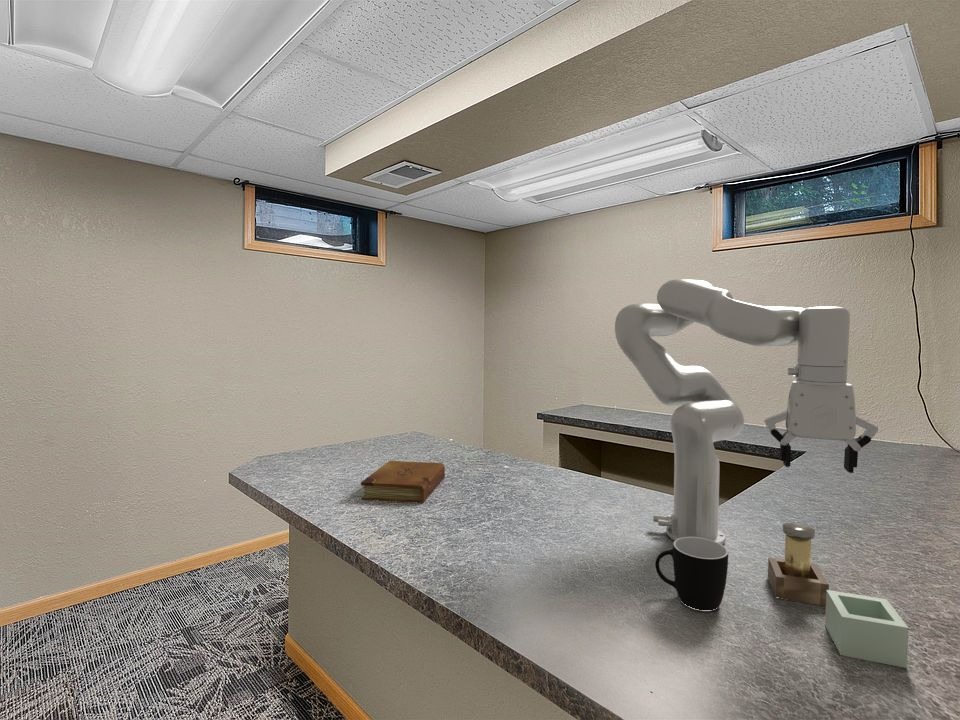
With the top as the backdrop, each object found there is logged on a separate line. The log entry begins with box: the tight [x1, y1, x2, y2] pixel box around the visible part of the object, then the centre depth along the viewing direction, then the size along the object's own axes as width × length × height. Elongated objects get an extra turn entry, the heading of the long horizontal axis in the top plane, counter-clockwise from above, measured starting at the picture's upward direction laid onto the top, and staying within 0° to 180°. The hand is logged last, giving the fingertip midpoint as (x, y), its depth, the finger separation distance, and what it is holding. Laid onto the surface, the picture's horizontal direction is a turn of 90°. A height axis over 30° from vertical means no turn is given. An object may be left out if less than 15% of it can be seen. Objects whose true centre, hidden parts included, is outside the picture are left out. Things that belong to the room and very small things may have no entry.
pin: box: [782, 522, 816, 579], centre depth 92 cm, size 5×5×12 cm
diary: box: [360, 460, 446, 504], centre depth 153 cm, size 23×19×6 cm
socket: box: [824, 589, 910, 669], centre depth 77 cm, size 8×8×6 cm
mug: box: [654, 537, 729, 610], centre depth 90 cm, size 12×9×10 cm
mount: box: [767, 556, 830, 607], centre depth 92 cm, size 8×8×4 cm
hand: (816, 467), depth 92 cm, fingers open, 9 cm apart
